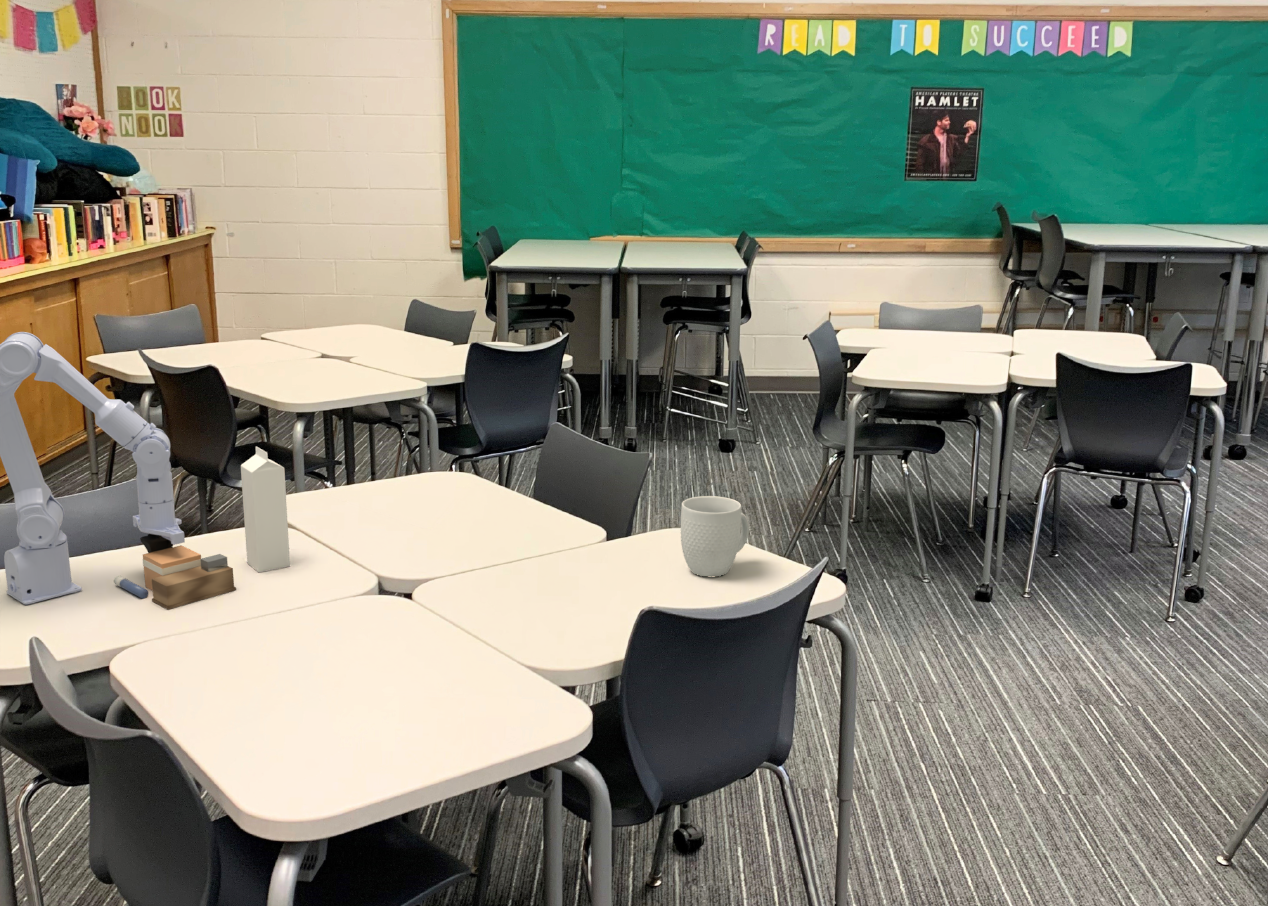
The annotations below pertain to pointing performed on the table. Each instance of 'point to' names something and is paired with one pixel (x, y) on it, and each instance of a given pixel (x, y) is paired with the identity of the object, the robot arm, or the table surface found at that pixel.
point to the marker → (130, 586)
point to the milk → (265, 513)
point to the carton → (168, 562)
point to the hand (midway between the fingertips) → (161, 573)
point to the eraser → (214, 562)
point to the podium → (191, 586)
